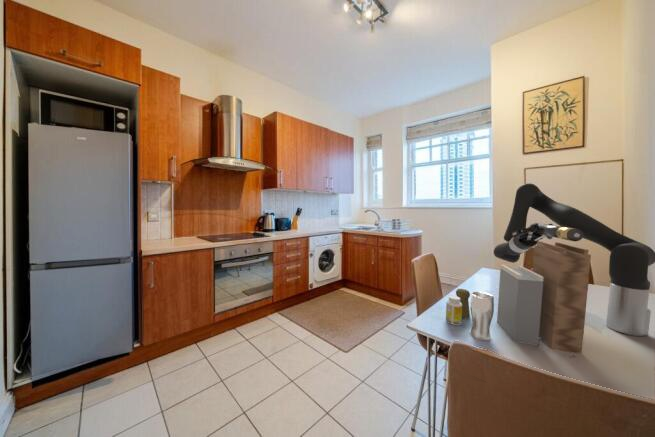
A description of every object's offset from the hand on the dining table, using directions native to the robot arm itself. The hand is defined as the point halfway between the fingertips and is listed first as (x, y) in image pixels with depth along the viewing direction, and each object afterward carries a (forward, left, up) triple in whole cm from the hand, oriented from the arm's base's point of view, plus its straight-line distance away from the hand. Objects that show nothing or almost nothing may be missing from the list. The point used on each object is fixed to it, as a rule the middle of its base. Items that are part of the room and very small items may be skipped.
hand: (544, 225), depth 91 cm
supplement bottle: (+31, +6, -39) cm, 51 cm away
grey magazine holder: (+10, +8, -39) cm, 41 cm away
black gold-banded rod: (0, +5, -3) cm, 6 cm away
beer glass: (+24, +14, -39) cm, 48 cm away
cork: (+26, -2, -39) cm, 47 cm away
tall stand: (0, +10, -39) cm, 40 cm away
